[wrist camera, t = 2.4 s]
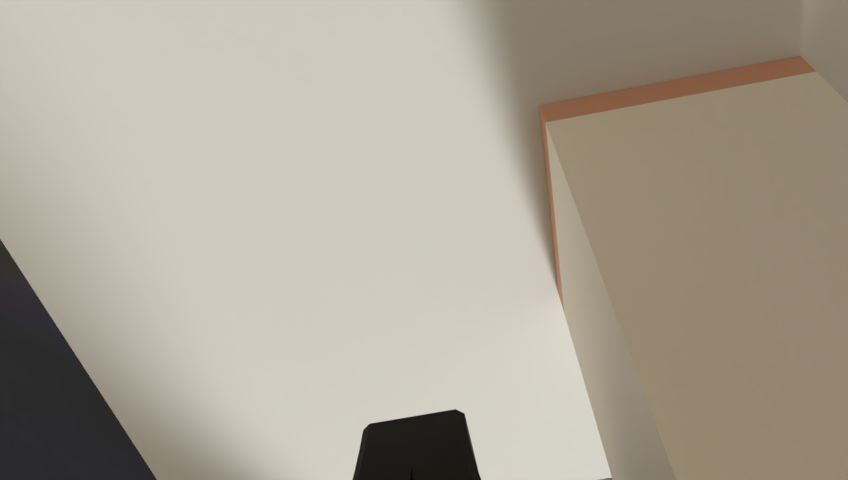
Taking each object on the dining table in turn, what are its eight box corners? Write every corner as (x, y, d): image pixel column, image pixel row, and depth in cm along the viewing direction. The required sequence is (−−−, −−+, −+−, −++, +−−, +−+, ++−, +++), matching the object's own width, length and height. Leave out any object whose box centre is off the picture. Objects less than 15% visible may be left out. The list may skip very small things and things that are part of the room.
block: (775, 255, 16) (1035, 653, 10) (558, 293, 17) (678, 705, 10) (800, 55, 14) (1179, 431, 7) (539, 105, 14) (686, 507, 8)
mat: (1107, 377, 20) (1124, 395, 20) (201, 523, 22) (198, 543, 21) (1635, -640, 9) (1704, -654, 9) (-258, -209, 11) (-286, -201, 10)
